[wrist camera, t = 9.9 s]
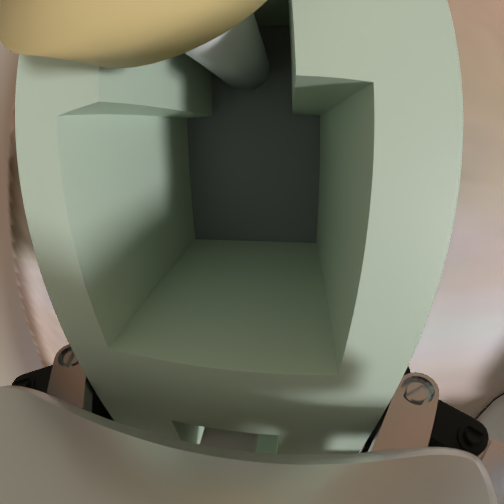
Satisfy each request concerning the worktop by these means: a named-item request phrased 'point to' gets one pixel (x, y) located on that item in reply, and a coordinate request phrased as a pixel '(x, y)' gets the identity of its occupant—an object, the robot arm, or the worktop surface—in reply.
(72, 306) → the pale green slotted holder
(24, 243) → the worktop surface
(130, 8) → the board
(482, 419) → the flask
